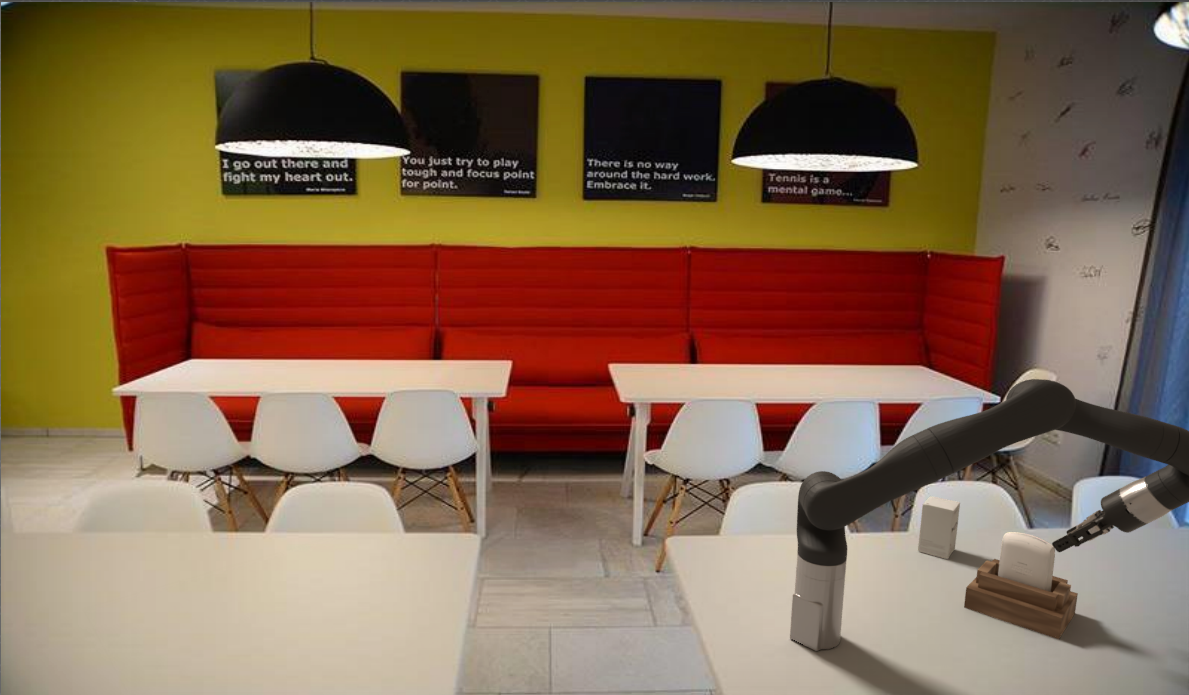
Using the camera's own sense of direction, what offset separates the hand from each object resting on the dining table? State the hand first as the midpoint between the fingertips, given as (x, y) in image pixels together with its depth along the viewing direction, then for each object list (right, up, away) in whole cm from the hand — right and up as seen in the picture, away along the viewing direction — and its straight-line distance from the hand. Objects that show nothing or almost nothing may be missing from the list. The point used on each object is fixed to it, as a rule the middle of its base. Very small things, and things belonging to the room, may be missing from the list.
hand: (1062, 541), depth 160 cm
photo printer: (-4, -12, +7) cm, 15 cm away
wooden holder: (-4, -17, +8) cm, 19 cm away
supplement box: (-10, -11, +36) cm, 39 cm away
